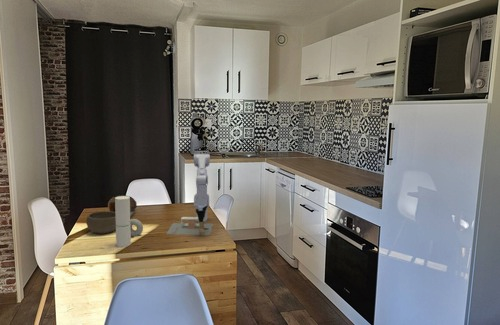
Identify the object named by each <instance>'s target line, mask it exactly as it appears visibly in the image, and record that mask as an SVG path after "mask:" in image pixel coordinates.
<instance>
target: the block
mask: <svg viewBox="0 0 500 325" xmlns="http://www.w3.org/2000/svg"><path fill="white" fill-rule="evenodd" d="M187 221H188V222H187V223H188V229H195V227H196V223H197V221H196V220H187Z"/></svg>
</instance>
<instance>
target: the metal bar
mask: <svg viewBox="0 0 500 325" xmlns="http://www.w3.org/2000/svg"><path fill="white" fill-rule="evenodd" d="M177 229H178V227H177V226H175V228H174V229H173V231H172V234H171V235H176V234H175V232H176V231H177Z"/></svg>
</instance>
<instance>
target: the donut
mask: <svg viewBox="0 0 500 325" xmlns="http://www.w3.org/2000/svg"><path fill="white" fill-rule="evenodd" d="M133 226H135V227H136V229H133ZM130 231H131V237H137V236H140V235H141V234H142V233H143V231H144V226H143V223H142V222H141V221H140V220H139V219H137V218H130Z"/></svg>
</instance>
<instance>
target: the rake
mask: <svg viewBox="0 0 500 325" xmlns="http://www.w3.org/2000/svg"><path fill="white" fill-rule="evenodd" d="M198 223H199V227H198V230H199V234H204V230H208V227H204V223H205V222H198Z"/></svg>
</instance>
